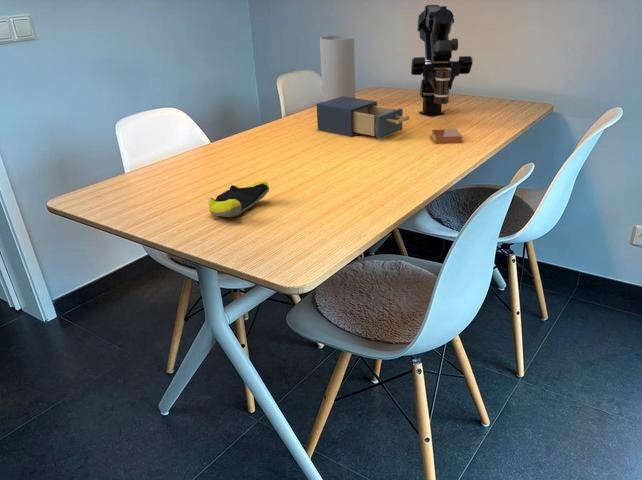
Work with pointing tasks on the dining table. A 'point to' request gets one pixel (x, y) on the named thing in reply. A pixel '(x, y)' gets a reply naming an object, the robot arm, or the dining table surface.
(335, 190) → the dining table surface
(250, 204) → the black and yellow sneaker
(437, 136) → the stand
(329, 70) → the cylinder vase
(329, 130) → the cabinet
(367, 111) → the drawer
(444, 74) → the bundle
